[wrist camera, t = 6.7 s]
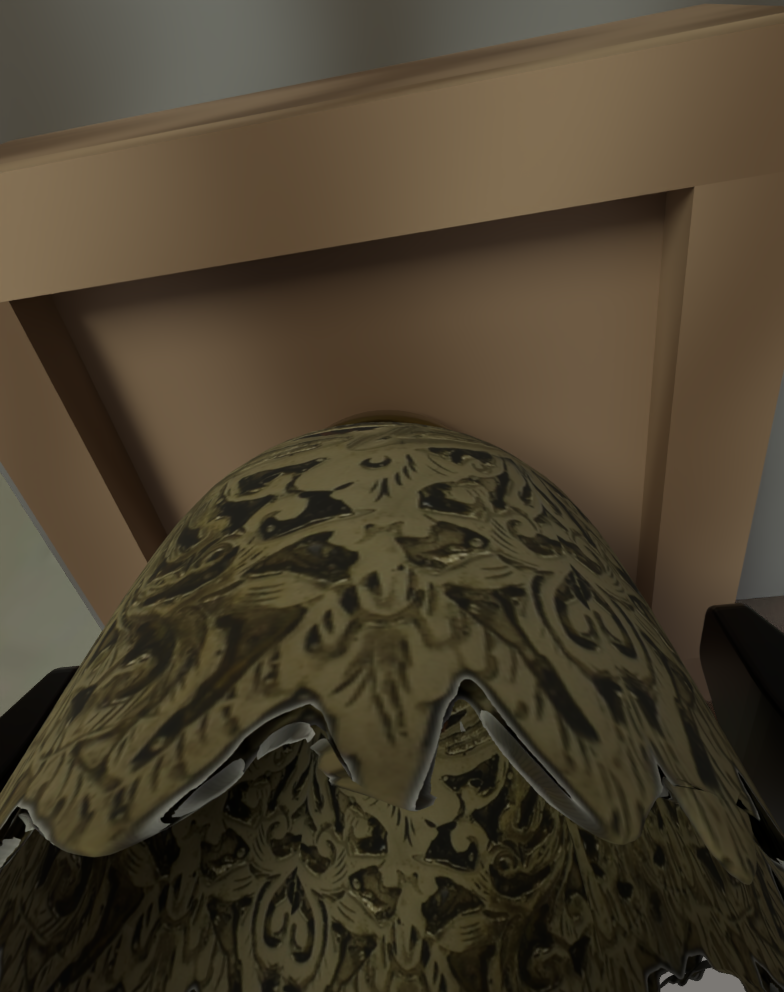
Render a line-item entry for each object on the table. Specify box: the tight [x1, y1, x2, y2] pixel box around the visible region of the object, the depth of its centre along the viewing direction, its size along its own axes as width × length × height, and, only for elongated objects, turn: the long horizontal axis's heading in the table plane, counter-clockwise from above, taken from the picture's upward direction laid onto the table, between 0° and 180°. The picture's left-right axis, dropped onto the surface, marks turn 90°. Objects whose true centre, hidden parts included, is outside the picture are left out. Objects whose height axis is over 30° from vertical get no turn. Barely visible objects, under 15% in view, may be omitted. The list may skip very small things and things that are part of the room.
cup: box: [0, 410, 784, 992], centre depth 9 cm, size 8×7×8 cm
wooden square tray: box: [0, 0, 784, 701], centre depth 14 cm, size 20×16×6 cm
